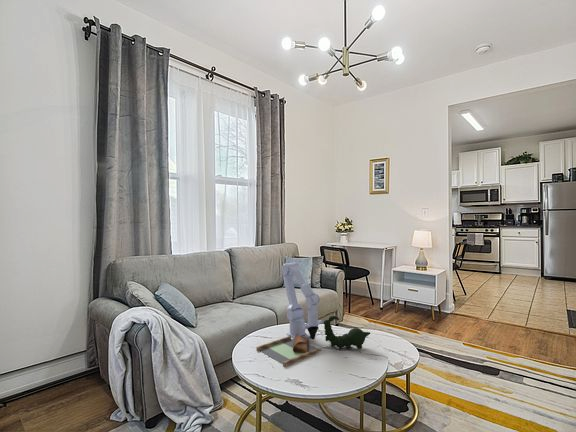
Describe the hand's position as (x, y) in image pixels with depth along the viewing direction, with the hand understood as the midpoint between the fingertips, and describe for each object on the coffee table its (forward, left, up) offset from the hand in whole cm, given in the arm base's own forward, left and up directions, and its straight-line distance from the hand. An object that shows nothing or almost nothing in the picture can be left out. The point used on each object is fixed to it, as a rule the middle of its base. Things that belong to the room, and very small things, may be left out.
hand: (312, 338), depth 187 cm
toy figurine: (-9, +18, -2) cm, 20 cm away
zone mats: (+16, 0, -2) cm, 17 cm away
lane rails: (+19, 0, -2) cm, 19 cm away
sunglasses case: (+9, 0, -2) cm, 9 cm away
